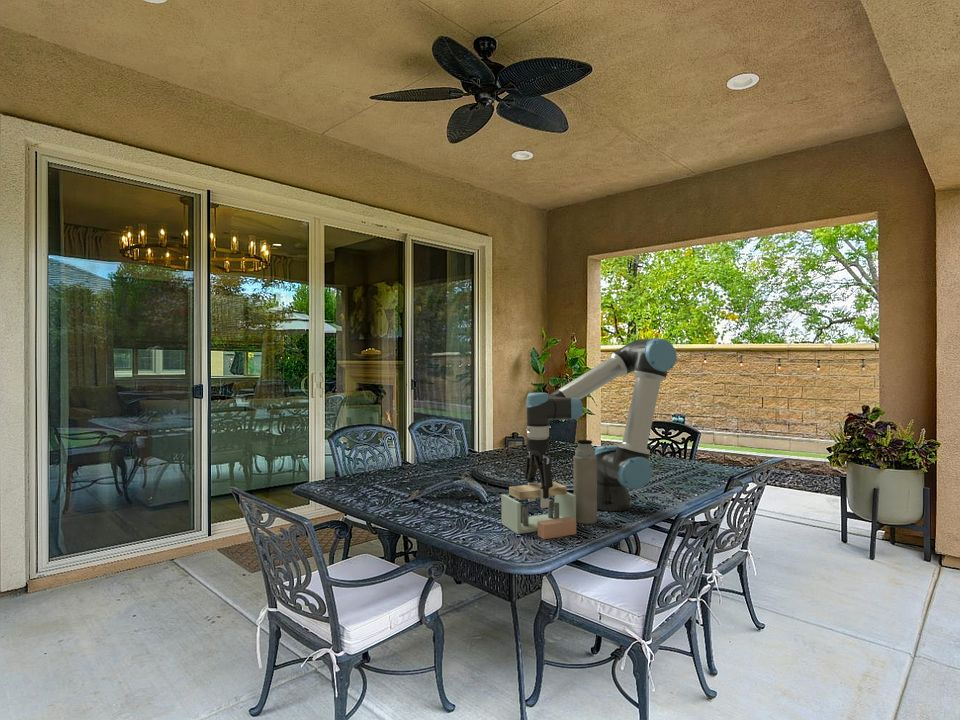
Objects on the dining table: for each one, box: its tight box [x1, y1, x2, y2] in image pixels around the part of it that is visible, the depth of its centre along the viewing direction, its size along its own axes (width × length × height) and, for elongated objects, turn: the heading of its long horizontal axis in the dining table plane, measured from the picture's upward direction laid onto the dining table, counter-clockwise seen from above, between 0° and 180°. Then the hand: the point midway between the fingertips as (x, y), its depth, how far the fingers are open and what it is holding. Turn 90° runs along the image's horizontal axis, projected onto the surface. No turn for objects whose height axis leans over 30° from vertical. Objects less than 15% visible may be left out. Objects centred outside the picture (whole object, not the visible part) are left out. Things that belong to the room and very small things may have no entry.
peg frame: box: [500, 491, 576, 535], centre depth 186 cm, size 22×12×10 cm, turn 113°
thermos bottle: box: [572, 439, 598, 525], centre depth 190 cm, size 8×8×28 cm
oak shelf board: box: [508, 481, 568, 501], centre depth 186 cm, size 18×8×2 cm, turn 113°
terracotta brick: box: [537, 517, 577, 540], centre depth 175 cm, size 12×4×4 cm, turn 113°
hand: (538, 504), depth 186 cm, fingers closed on oak shelf board, 8 cm apart
